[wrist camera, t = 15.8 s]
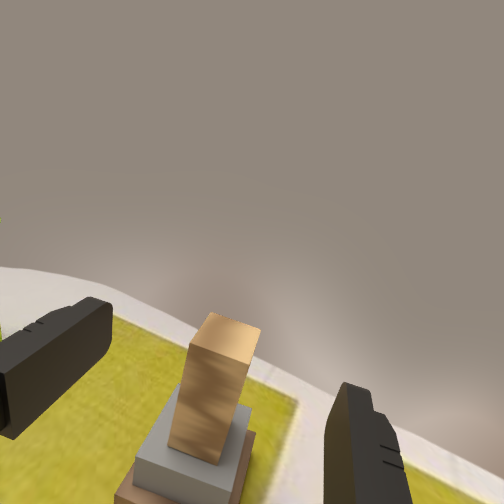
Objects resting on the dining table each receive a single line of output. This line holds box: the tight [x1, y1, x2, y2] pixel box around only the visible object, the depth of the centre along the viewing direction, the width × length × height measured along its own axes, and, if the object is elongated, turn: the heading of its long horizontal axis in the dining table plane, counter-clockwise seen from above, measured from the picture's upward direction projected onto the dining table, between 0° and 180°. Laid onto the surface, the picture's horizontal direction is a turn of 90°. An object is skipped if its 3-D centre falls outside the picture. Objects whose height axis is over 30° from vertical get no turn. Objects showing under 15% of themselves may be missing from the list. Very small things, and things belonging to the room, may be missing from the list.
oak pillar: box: [167, 312, 261, 466], centre depth 28 cm, size 5×5×12 cm
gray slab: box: [132, 383, 252, 504], centre depth 31 cm, size 9×9×4 cm
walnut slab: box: [114, 430, 256, 504], centre depth 32 cm, size 11×11×4 cm
